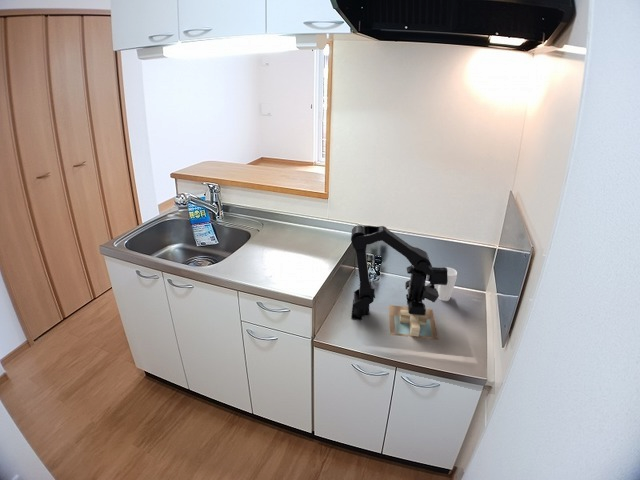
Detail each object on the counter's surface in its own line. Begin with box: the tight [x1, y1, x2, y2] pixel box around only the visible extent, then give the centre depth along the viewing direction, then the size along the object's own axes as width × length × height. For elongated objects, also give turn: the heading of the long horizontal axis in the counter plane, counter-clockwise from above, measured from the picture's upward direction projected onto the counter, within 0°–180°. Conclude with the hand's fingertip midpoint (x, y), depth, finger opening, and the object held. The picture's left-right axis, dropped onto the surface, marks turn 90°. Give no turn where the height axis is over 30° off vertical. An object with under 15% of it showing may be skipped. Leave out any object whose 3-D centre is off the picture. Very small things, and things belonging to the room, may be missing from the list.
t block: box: [400, 310, 427, 338], centre depth 139 cm, size 10×10×4 cm
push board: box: [388, 304, 440, 341], centre depth 143 cm, size 18×18×2 cm
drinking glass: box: [437, 266, 458, 302], centre depth 155 cm, size 7×7×15 cm
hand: (412, 313), depth 145 cm, fingers closed
